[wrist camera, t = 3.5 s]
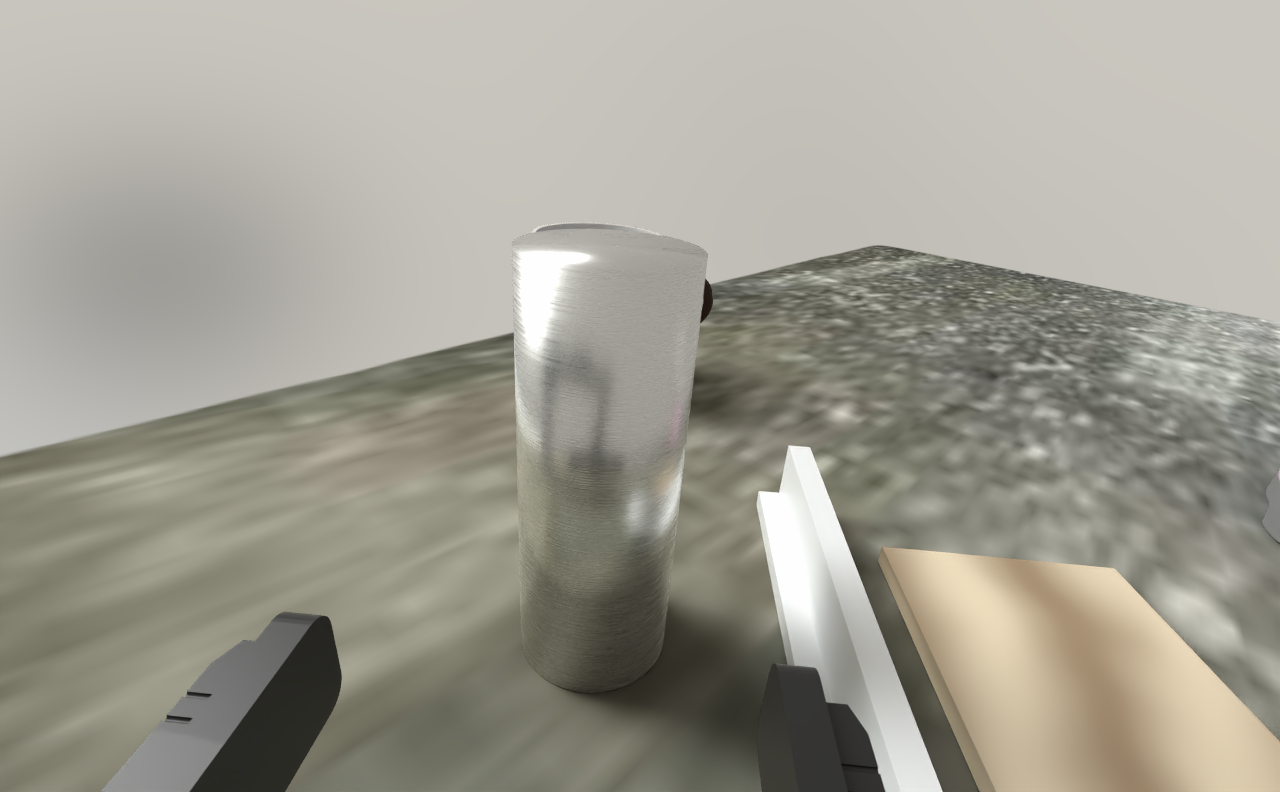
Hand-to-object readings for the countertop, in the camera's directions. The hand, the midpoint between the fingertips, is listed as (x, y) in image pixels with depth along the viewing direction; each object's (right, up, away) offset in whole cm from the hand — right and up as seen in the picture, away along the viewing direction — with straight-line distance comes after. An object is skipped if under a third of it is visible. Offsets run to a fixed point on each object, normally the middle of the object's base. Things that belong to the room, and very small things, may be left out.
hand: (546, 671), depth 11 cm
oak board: (+17, -5, +11) cm, 21 cm away
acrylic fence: (+8, -4, +11) cm, 15 cm away
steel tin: (0, -4, +11) cm, 12 cm away
